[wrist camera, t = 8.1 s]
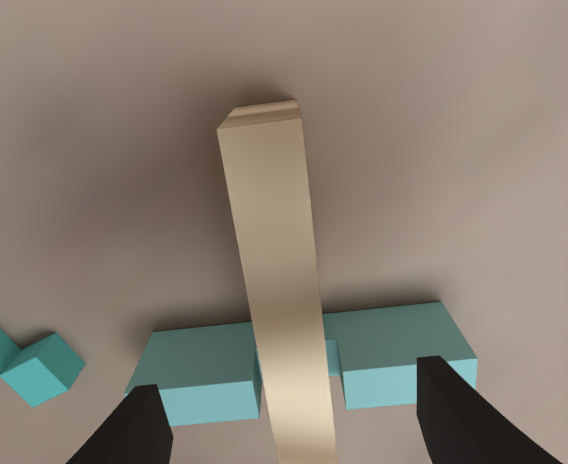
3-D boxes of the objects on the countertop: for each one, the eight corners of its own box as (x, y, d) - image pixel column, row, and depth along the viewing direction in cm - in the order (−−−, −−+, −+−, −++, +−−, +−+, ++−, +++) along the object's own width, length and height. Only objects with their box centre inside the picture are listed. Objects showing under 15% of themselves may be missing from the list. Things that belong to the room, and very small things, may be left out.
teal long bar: (440, 335, 21) (474, 397, 17) (162, 364, 21) (136, 429, 18) (441, 301, 20) (477, 358, 16) (152, 332, 20) (124, 393, 17)
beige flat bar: (326, 379, 22) (338, 467, 17) (280, 383, 22) (279, 472, 17) (296, 99, 16) (301, 118, 12) (235, 107, 16) (216, 129, 12)
